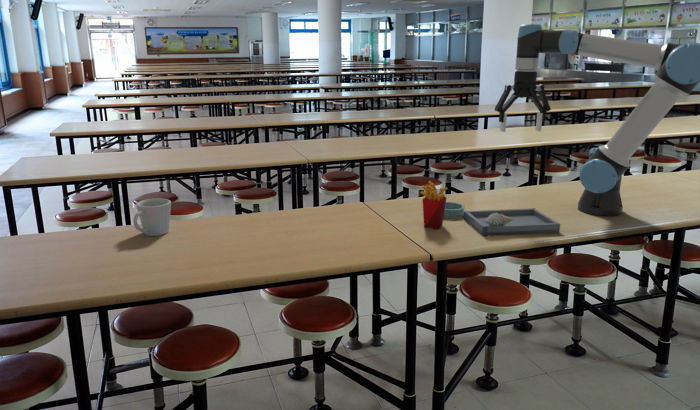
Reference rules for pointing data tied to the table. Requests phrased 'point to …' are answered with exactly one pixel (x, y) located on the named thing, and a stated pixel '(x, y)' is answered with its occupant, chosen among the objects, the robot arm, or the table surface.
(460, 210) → the teal ring
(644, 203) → the table surface
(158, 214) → the mug
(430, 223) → the french fries
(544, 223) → the tray
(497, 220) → the soft serve swirl
